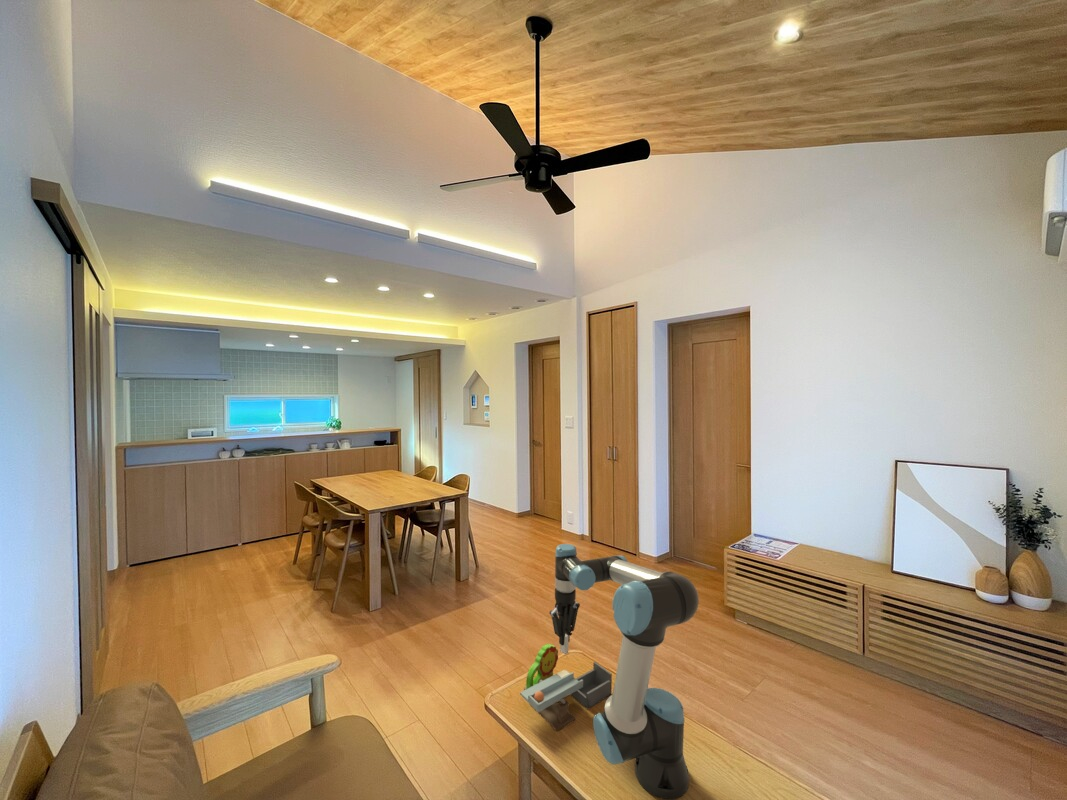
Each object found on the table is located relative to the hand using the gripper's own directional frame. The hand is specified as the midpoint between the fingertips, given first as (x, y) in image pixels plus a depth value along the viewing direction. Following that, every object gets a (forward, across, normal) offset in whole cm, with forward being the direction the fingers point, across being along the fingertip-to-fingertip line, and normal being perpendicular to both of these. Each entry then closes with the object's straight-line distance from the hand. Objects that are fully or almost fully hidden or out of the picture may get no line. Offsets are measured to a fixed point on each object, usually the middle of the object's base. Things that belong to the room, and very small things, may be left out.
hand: (564, 651), depth 158 cm
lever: (+10, +8, +3) cm, 13 cm away
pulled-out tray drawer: (+17, -9, +5) cm, 20 cm away
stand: (+17, +8, +3) cm, 19 cm away
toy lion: (+17, +3, -8) cm, 19 cm away
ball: (+7, +16, +5) cm, 18 cm away
